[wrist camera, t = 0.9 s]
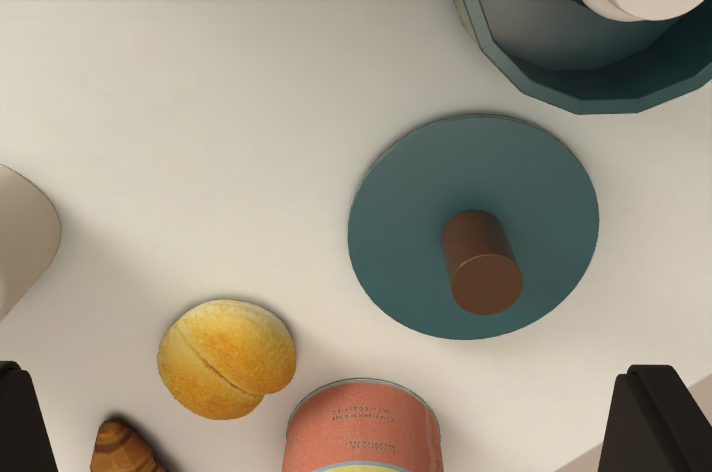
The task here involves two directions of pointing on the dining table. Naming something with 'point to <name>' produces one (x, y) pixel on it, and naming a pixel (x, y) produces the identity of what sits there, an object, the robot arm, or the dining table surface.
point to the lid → (473, 227)
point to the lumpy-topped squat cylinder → (24, 236)
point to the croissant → (122, 450)
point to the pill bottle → (639, 8)
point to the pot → (592, 53)
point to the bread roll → (226, 358)
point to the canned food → (362, 430)
